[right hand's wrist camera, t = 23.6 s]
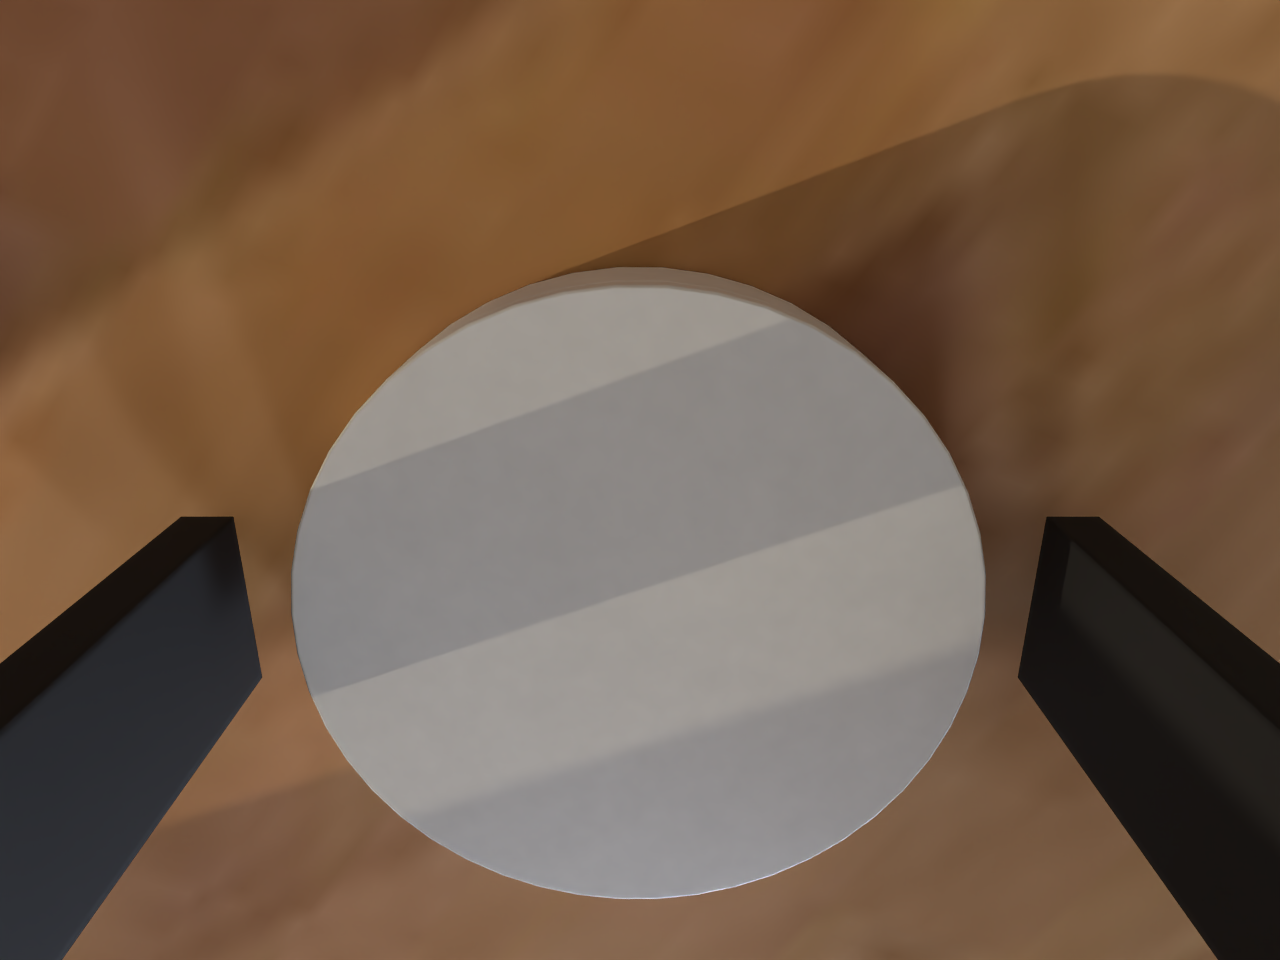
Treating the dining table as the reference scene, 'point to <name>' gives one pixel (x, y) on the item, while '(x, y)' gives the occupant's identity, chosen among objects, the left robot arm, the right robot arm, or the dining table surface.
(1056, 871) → the dining table surface
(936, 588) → the lid
